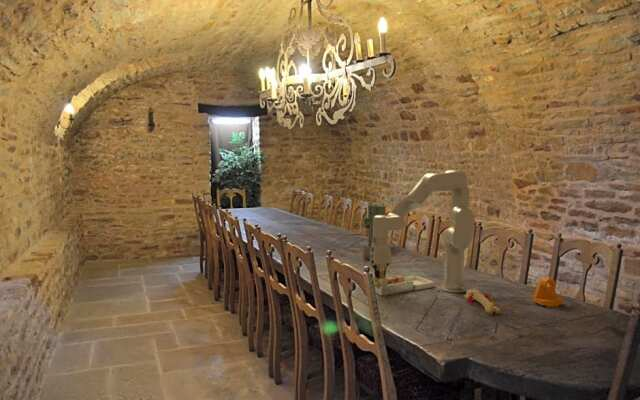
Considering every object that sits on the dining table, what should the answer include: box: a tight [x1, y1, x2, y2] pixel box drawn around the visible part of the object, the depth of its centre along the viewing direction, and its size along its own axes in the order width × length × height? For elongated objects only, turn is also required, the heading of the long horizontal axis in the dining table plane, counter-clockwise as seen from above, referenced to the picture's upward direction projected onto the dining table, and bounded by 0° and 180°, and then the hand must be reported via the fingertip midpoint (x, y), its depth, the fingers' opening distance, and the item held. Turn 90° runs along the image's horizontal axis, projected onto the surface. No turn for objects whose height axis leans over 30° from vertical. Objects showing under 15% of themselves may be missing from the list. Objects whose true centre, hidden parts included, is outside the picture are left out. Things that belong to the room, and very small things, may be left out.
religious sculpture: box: [363, 204, 387, 248], centre depth 356 cm, size 24×12×30 cm, turn 15°
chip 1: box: [384, 275, 396, 285], centre depth 254 cm, size 4×4×3 cm
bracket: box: [532, 275, 564, 308], centre depth 231 cm, size 11×7×12 cm, turn 98°
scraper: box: [372, 264, 388, 286], centre depth 250 cm, size 8×3×11 cm, turn 30°
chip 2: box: [391, 274, 406, 283], centre depth 256 cm, size 4×4×3 cm
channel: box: [375, 275, 414, 297], centre depth 254 cm, size 13×20×4 cm, turn 120°
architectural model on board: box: [362, 247, 371, 261], centre depth 322 cm, size 11×3×10 cm, turn 115°
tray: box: [404, 275, 436, 291], centre depth 262 cm, size 15×13×2 cm
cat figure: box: [463, 288, 502, 316], centre depth 228 cm, size 10×9×25 cm
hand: (380, 276), depth 250 cm, fingers closed on scraper, 3 cm apart
